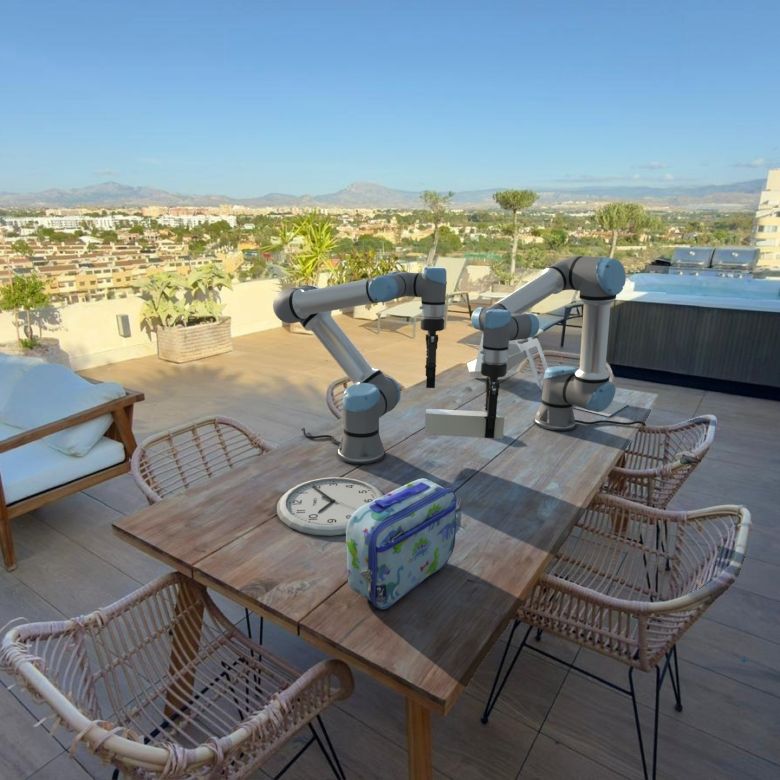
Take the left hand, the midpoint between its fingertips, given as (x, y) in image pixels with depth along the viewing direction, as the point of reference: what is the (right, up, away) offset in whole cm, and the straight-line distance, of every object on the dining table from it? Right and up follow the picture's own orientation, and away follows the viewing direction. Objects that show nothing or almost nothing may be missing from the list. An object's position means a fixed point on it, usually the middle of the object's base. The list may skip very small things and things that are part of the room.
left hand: (430, 381), depth 171 cm
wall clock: (-29, -34, -28) cm, 53 cm away
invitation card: (+78, -10, +55) cm, 96 cm away
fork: (+3, -36, -33) cm, 49 cm away
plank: (+10, -17, -7) cm, 21 cm away
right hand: (+18, -17, -8) cm, 26 cm away
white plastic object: (+44, 0, +86) cm, 96 cm away
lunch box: (-10, -44, -58) cm, 74 cm away
